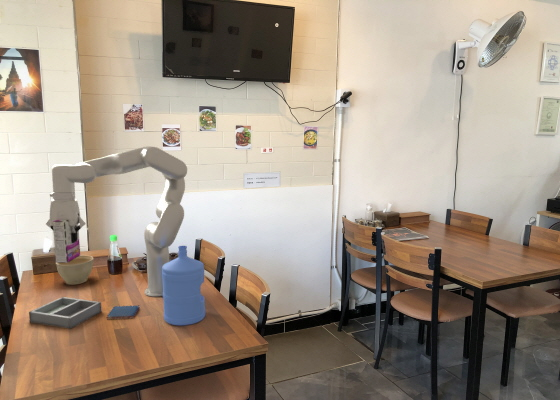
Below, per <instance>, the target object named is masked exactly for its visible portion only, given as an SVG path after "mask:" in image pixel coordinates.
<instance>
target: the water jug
mask: <svg viewBox="0 0 560 400" xmlns="http://www.w3.org/2000/svg"><path fill="white" fill-rule="evenodd" d="M187 247H188V246H187V245H179V246H178V251H177V252H178V256H177V257H176V258H174V259H172V260H169V262H168V263H166V264H164V265H163V267H162V278H163V296H162V299H163V301H162V302H163V320H164V321H165V322H166V323H167V324H170V325H173V326H189V325H193V324H196V323H199V322H201V321H202V320H204V319H205V316H206V301H205V300H206V299H205V296H204V295H202V293H201V286H202V284H204V283H205V265H204V263H203V262H202V261H200V260H197V259H194V258H191V257H189V256H188V250H187Z"/></svg>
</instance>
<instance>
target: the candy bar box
mask: <svg viewBox="0 0 560 400" xmlns="http://www.w3.org/2000/svg"><path fill="white" fill-rule="evenodd" d="M77 226H79V224H77ZM52 232H53V243H54V255H55V264H56V263H68V262H70V261H72V260H73V259H75V258H76V257H78V256H80V255H81V246H80V245H81V244H80V230H79V231H78V232H77V237H78V239H77V242H75V243H72V241H71V233H72V229H71V226H69V222H68V220H55V221H53V230H52Z"/></svg>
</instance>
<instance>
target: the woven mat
mask: <svg viewBox="0 0 560 400" xmlns="http://www.w3.org/2000/svg"><path fill="white" fill-rule="evenodd" d="M139 310H140V305H139V304H138V305H121V306H120V305H119V306H118V305H115V306H113V307H112V309H111V310H110V311H109V313H108V314H107V315H106V316H105V318H106V320H107V321H108V320H124V319H126V320H129V319H134V318H135V317H136V314H137V313H138V311H139Z"/></svg>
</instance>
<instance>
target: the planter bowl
mask: <svg viewBox="0 0 560 400" xmlns="http://www.w3.org/2000/svg"><path fill="white" fill-rule="evenodd" d="M55 265H56V268H57V269H56V270H57V272H58V274H59V276H60V277H61V279H62V280H64V282H65V284H66V285H79V284H80V285H81V284H83V283H85V282H87V281H88V279H89V278H88V277H90V275H91V273H92V271H93V267H94V257H93V256H92V255H85V254H84V255H83V254H80V256H78V257H76V258H75V259H73V260H72V261H70V262H68V263H56V262H55Z"/></svg>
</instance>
